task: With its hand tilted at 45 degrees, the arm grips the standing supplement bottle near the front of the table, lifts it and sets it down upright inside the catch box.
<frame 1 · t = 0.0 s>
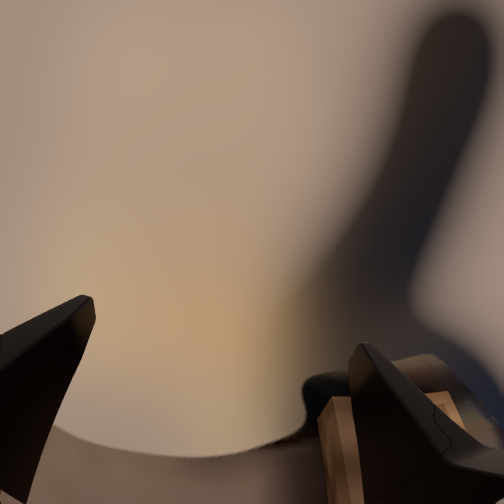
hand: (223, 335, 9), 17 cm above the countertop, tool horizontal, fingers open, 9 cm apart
catch box: (395, 474, 18), on the countertop
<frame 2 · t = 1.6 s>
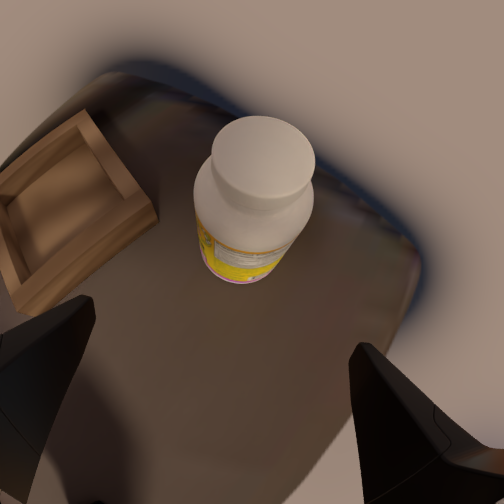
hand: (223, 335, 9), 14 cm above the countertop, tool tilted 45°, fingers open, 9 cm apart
supplement bottle: (239, 247, 25), on the countertop
catch box: (63, 213, 23), on the countertop
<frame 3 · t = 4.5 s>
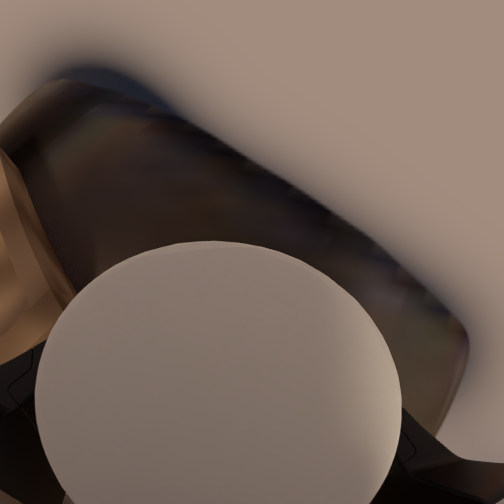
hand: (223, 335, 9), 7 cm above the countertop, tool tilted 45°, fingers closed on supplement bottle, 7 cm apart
supplement bottle: (217, 364, 15), on the countertop, touching gripper
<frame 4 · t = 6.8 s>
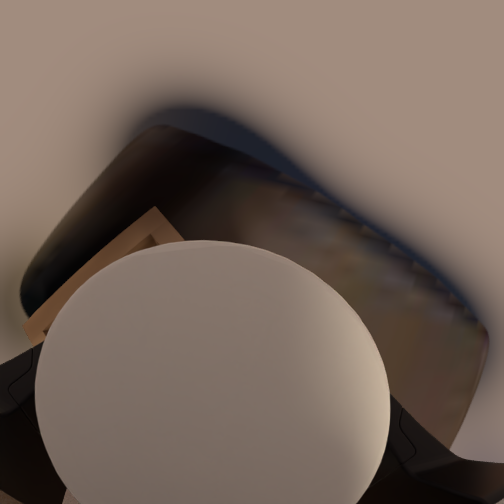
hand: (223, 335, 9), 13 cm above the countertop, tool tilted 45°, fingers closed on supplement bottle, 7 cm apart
supplement bottle: (222, 364, 15), point 6 cm above the countertop, touching gripper
catch box: (151, 347, 21), on the countertop
when the fingers open (9 cm above the countertop, at t = 9.3 s): supplement bottle stays where it is, resting on catch box.
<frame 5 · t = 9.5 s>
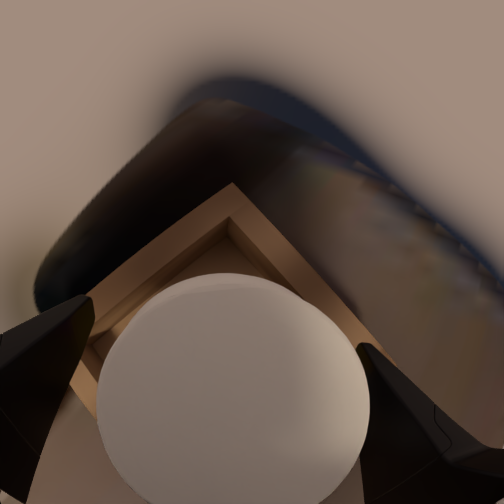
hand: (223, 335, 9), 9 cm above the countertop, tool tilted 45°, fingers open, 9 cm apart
supplement bottle: (221, 365, 16), point 1 cm above the countertop, touching catch box
catch box: (216, 361, 17), on the countertop
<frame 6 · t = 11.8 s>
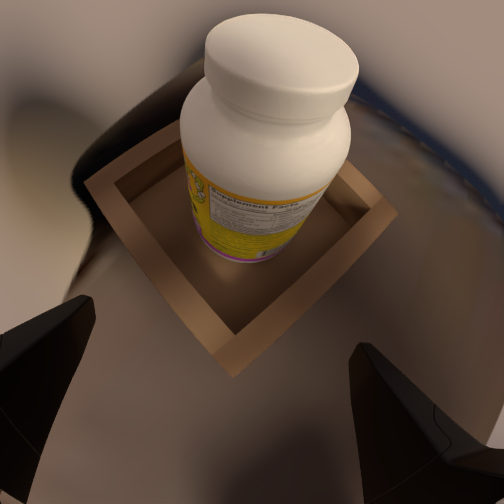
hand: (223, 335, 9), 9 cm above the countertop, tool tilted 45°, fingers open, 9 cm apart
supplement bottle: (244, 218, 19), point 1 cm above the countertop, touching catch box
catch box: (239, 219, 20), on the countertop
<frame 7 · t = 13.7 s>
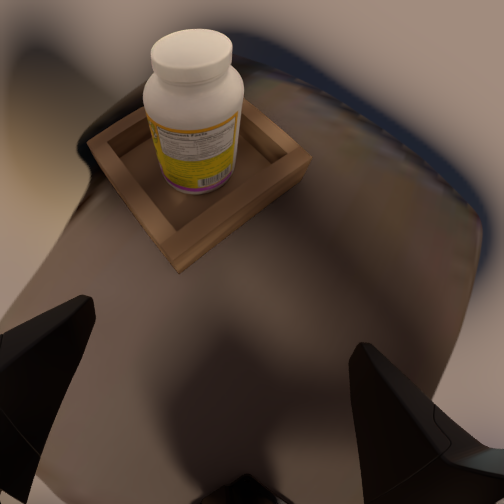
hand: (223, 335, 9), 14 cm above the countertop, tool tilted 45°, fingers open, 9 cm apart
supplement bottle: (197, 167, 26), point 1 cm above the countertop, touching catch box
catch box: (195, 169, 26), on the countertop
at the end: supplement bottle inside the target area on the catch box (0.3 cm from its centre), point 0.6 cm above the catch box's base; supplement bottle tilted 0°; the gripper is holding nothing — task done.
